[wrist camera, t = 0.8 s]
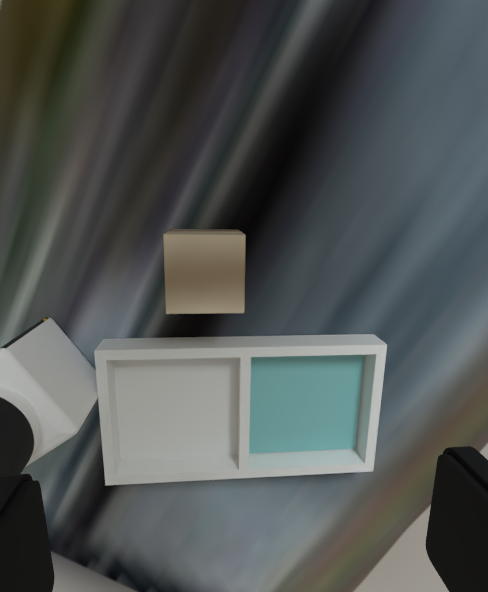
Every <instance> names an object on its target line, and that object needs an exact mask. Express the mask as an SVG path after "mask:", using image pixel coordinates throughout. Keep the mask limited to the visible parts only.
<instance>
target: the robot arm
mask: <svg viewBox="0 0 488 592" xmlns="http://www.w3.org/2000/svg"><path fill="white" fill-rule="evenodd" d="M426 550H427V554H428V556H429V559H430V561H431V562H432V564H433V566H434V568H435V569H436V571H437V572H438V574H439V576H440V577H441V579H442V580H443V582H444V584H445V585H446V587H447V588H448V590H449V592H488V460H487V459H486V458H485V457H484V456H483V455H482V454H480V453H479V452H478V451H477V450H476V449H475V448H473V447H470V446H467V447H451V448H446V449H445V450H444V452H443V455H440V456H439V457H438V461H437V468H436V474H435V481H434V488H433V495H432V502H431V510H430V516H429V523H428V530H427V537H426ZM53 585H54V570H53V564H52V558H51V551H50V545H49V538H48V532H47V526H46V519H45V513H44V507H43V500H42V494H41V488H40V483H39V482H38V481H33V480H32V477H31V476H30V475H29V474H19V475H4V476H0V592H52V590H53Z"/></svg>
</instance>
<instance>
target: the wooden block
mask: <svg viewBox="0 0 488 592" xmlns="http://www.w3.org/2000/svg"><path fill="white" fill-rule="evenodd" d="M245 236H246V235H245V234H243V233H242V232H241V231H239V230H237V229H172V230H170V231H168V232H166V233H165V234H163V242H164V271H165V299H166V314H203V313H244V303H245Z"/></svg>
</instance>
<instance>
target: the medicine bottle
mask: <svg viewBox="0 0 488 592" xmlns="http://www.w3.org/2000/svg"><path fill="white" fill-rule="evenodd" d="M97 399H98V391H97V379H96V370H95V369H94V368H93V367H92V366H91V364H90V363H89V362H88V361H87V360H86V358H85V357H84V356H83V355H82V354H81V352H80V351H79V350H78V349H77V348H76V346H75V345H74V344H73V343H72V342H71V341H70V339H69V338H68V337H67V336H66V335H65V333H64V332H63V331H62V330H61V329H60V327H59V326H58V325H57V324H56V323H55V321H54V320H53V319H52V318H49V317H47V318H44V319H43V320H41V321H40V322H38V323H37V324H35V325H34V326H32V327H31V328H29V329H28V330H26V331H25V332H23V333H22V334H21V335H19V336H18V337H16V338H15V339H13V340H12V341H10V342H9V343H7V344H6V345H4V346H3V347H1V348H0V476H4V475H19V474H20V473H21V472H22V470H23V469H24V468H25V467H26V466H28V465H29V464H31V463H32V462H34V461H36V460H37V459H39V458H40V457H42V456H43V455H45V454H46V453H48V452H50V451H51V450H53V449H54V448H56V447H57V446H59V445H60V444H62V443H63V442H65V441H67V440H68V439H70V438H71V437H73V436H74V435H76V434H77V433H78V431H79V430H80V428H81V426H82V425H83V423H84V421H85V419H86V418H87V416H88V414H89V413H90V411H91V409H92V407H93V406H94V404H95V402H96V401H97Z"/></svg>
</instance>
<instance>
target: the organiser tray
mask: <svg viewBox="0 0 488 592" xmlns="http://www.w3.org/2000/svg"><path fill="white" fill-rule="evenodd" d="M386 350H387V344H386V343H384V342H383V341H382V340H381V339H379V338H378V337H377V336H375V335H374V334H349V335H291V336H233V337H175V338H117V339H103V340H102V341H101V342H100V344H99V345H98V346H97V347H96V349H95V350H94V355H95V367H96V379H97V391H98V403H99V415H100V427H101V438H102V450H103V462H104V474H105V486H106V485H124V484H143V483H162V482H181V481H200V480H219V479H238V478H257V477H276V476H294V475H313V474H332V473H351V472H370V471H373V468H374V459H375V450H376V441H377V432H378V423H379V414H380V405H381V396H382V387H383V378H384V369H385V360H386Z"/></svg>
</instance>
